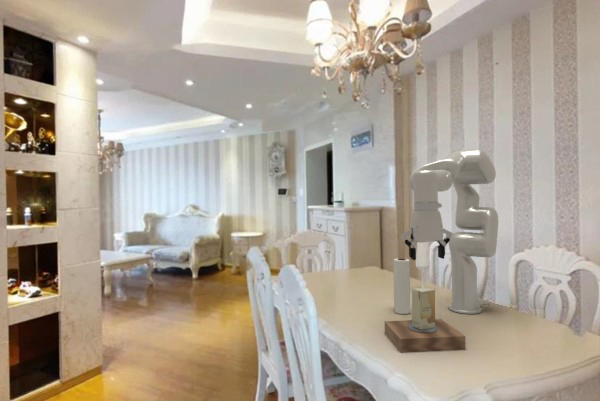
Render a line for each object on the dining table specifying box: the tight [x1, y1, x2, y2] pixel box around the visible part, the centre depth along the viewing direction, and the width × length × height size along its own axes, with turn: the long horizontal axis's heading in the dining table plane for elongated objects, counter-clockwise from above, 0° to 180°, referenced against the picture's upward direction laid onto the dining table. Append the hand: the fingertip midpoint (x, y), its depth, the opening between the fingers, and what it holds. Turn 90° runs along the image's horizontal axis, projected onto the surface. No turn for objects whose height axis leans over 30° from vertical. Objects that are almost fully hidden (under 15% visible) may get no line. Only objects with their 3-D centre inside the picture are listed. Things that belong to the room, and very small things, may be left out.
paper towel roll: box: [393, 257, 411, 315], centre depth 149 cm, size 7×6×21 cm
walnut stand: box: [384, 318, 467, 353], centre depth 119 cm, size 20×16×4 cm
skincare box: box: [411, 286, 436, 330], centre depth 119 cm, size 6×4×12 cm
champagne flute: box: [415, 242, 431, 288], centre depth 180 cm, size 7×7×24 cm
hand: (427, 258), depth 123 cm, fingers open, 9 cm apart
